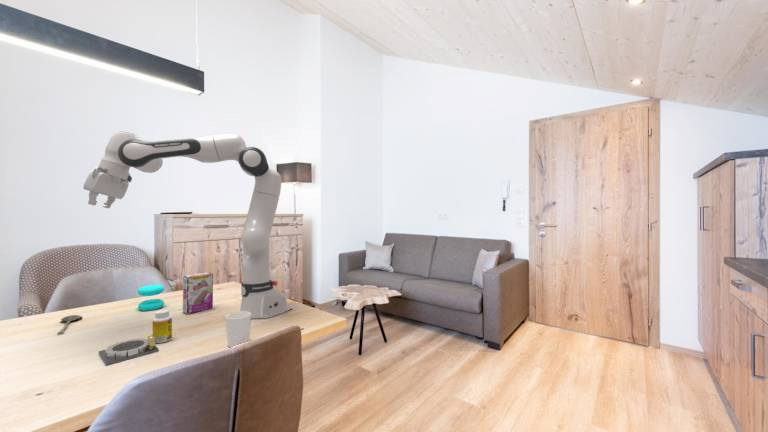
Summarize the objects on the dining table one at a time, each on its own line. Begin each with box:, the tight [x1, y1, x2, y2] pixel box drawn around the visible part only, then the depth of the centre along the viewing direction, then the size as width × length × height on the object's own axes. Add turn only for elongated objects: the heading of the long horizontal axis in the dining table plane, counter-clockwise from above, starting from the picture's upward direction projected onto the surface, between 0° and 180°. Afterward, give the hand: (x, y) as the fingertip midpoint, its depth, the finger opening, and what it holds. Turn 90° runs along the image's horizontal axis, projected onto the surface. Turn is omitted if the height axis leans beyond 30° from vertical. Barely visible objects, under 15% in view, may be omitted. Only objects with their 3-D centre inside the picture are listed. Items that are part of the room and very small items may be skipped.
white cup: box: [225, 311, 252, 348], centre depth 110 cm, size 8×8×10 cm
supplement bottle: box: [152, 309, 173, 344], centre depth 113 cm, size 6×6×10 cm
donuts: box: [137, 284, 165, 312], centre depth 150 cm, size 10×10×10 cm
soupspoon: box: [57, 314, 83, 336], centre depth 127 cm, size 22×3×7 cm
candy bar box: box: [182, 272, 214, 315], centre depth 147 cm, size 11×5×16 cm, turn 144°
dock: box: [98, 334, 160, 366], centre depth 104 cm, size 13×12×5 cm
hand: (99, 206), depth 122 cm, fingers open, 8 cm apart
